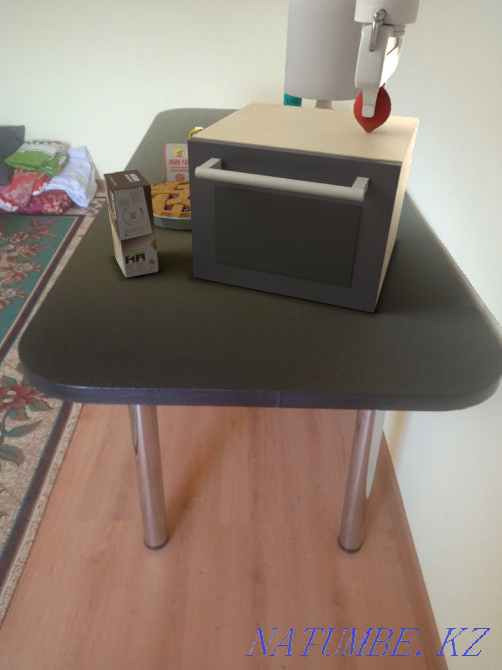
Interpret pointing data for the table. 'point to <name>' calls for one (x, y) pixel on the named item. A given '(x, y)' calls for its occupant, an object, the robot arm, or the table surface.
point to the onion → (380, 111)
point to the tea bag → (176, 162)
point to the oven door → (291, 220)
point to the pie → (171, 205)
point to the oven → (323, 140)
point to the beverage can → (292, 100)
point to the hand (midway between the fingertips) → (371, 111)
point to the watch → (195, 130)
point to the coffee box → (132, 222)
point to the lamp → (322, 51)
